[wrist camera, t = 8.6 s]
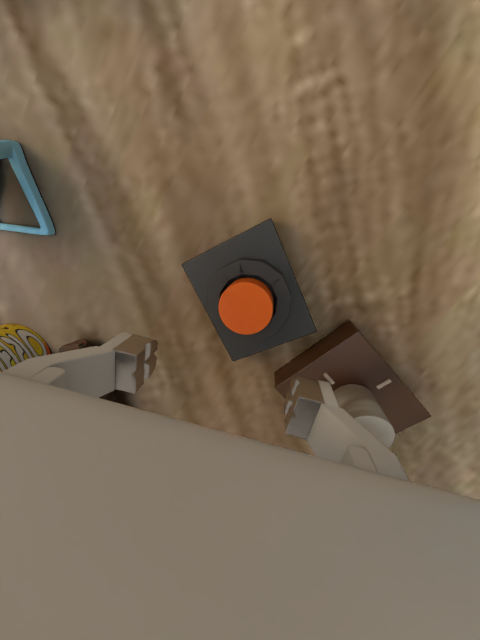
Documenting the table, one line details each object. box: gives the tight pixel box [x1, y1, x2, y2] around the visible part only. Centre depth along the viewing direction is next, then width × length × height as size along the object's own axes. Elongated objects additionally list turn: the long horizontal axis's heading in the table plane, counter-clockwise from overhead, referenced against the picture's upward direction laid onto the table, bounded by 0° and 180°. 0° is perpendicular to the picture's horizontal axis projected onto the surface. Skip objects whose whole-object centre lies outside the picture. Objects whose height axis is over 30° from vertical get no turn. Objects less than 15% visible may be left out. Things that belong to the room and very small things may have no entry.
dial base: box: [275, 320, 431, 434], centre depth 25 cm, size 12×10×3 cm
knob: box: [333, 384, 395, 448], centre depth 22 cm, size 4×4×5 cm
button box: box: [182, 218, 317, 361], centre depth 23 cm, size 11×9×4 cm
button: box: [218, 278, 273, 335], centre depth 20 cm, size 4×4×2 cm
